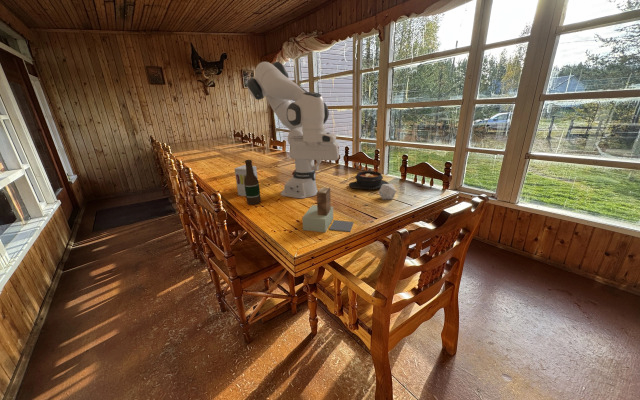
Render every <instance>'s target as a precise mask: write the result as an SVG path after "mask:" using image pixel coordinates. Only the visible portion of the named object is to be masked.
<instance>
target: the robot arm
mask: <svg viewBox="0 0 640 400" xmlns="http://www.w3.org/2000/svg"><path fill="white" fill-rule="evenodd" d="M254 73H255V75H254V76H253V77H251V78H249V80H248V81H247V83H246V86H247V87H246V88H247V91H248V93H249V94H250V95H251V97H252V98H254V99H255V100H258V101H259V100H263V99H264V98H266V100H267V102H268V104H269V106H270V107H271V110H272V111H273V113H274V114H275V115H276V117H277V118H278V119H279V121H280V123H281V124H282V125H283V126H284V127H286V128H288V129H289V133H288V135H287V142H288V144H289V147H290V148H289V157H290V159H291V160H294V166H295V167H294V171H293V172H291V175H292V177H291V178H290V179H288V181H286V182H285V184H284V187H283V188H284V189H283V190H281V191H280V196H283V197H289V198H295V199H305V198H309V197H314V196H317V192H318V191H319V190H318V187H317V181H316V178H317V175H316V174H317V173H316V171H319V169H320V168H319V167H320V164H321V162H322V161H332V162H333V161H335V162H336V161H337V160H338V159H339V158H340V149H339V143H338V142H337V141H336V140H337V135H336V134H334V133H331V132H328V131H326V129H325V127H326V126H325V124H326V122H327V121H328V119H329V116H330V115H329V114H330V110H329V107H328V106H327V104H326V103H325V101H324V97H323V94H321V93H319V92H313V91H307V90H305V88H303V87H302V86H301V85H299V84H298V83H296V82H294V81H293V80H291V79H289V74H288V73H289V72H288V70H287V68H286V67H285V65H284V64H283V63H281V62H280V61H275V62H272V63H270V62H269V61H261V62H259V63H258V64H257V66H256V68H255V72H254ZM292 101H293V102H292ZM315 161H316V165H315Z"/></svg>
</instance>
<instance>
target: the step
mask: <svg viewBox="0 0 640 400" xmlns="http://www.w3.org/2000/svg"><path fill="white" fill-rule="evenodd" d="M301 218H302V219H301V220H302V230H303V231H307V232H310V231H311V232H319V233H326V232H327V231H328V229H329V228H330V225H331V224H332V223H333V221H334V220H333V219H334V206H331V210H330V211H329V213H328V215H327V216H324V215H318V210H317V204H312V205H311V206H310V208H309V209H308V210H307V211H306V212H305V213H304V215H303V216H302V217H301Z"/></svg>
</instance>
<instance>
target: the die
mask: <svg viewBox="0 0 640 400" xmlns="http://www.w3.org/2000/svg"><path fill="white" fill-rule="evenodd" d="M396 193H397V189H396V188H395V186H394V185H393V183H389V184H382V186H381V187H380V188H379V190H378V194H379V196H380V197H381V199H382V200H383V201H384V200H387V201H388V200H393V199H394V198H395V195H396Z"/></svg>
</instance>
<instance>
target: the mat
mask: <svg viewBox="0 0 640 400" xmlns="http://www.w3.org/2000/svg"><path fill="white" fill-rule="evenodd" d="M330 225H331V226H329V228H328V229H329V231H337V232H346V233H347V232H349V233H351V232H352V228H353V225H354V221H347V220H338V219H334V220H332V222H331V224H330Z"/></svg>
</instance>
